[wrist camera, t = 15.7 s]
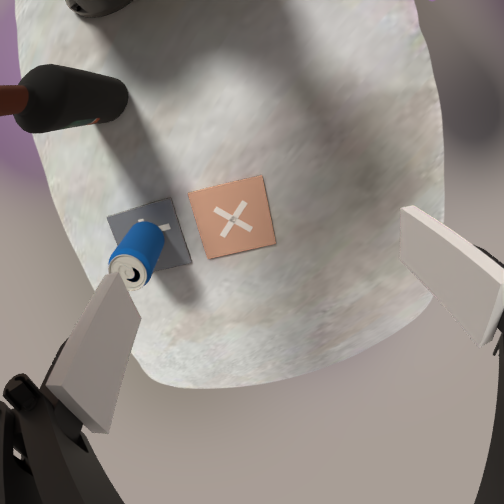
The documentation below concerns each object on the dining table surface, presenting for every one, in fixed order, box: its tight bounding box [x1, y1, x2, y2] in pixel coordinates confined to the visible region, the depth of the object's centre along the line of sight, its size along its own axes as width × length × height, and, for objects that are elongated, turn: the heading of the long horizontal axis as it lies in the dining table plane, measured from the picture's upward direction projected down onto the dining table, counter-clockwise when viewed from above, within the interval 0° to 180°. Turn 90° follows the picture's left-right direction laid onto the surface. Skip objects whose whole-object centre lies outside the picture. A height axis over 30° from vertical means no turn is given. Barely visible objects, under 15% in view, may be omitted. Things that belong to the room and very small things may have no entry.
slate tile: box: [107, 198, 192, 272], centre depth 48 cm, size 12×12×1 cm
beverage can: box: [108, 221, 164, 291], centre depth 42 cm, size 6×6×12 cm
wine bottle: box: [0, 64, 128, 133], centre depth 24 cm, size 8×8×30 cm
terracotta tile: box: [188, 175, 276, 259], centre depth 48 cm, size 12×12×1 cm
